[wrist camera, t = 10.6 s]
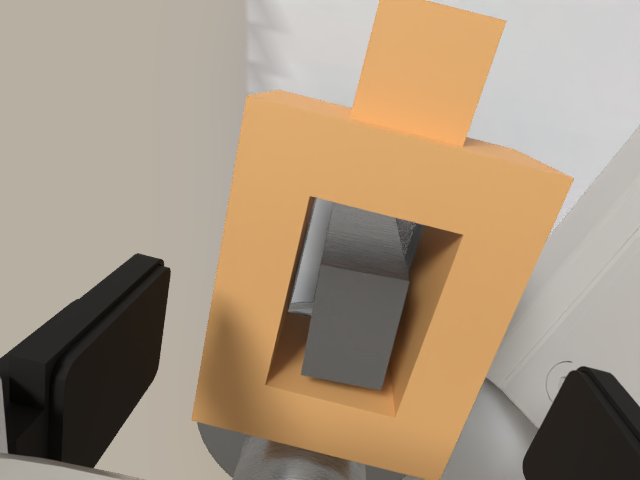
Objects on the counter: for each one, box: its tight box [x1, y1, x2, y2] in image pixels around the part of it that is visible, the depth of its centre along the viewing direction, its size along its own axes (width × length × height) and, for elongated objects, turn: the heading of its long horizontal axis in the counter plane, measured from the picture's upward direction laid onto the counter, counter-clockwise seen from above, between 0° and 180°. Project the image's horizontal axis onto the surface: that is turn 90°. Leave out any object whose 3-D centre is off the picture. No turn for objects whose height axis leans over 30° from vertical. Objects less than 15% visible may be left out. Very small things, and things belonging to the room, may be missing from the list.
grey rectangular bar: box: [301, 202, 410, 390], centre depth 18 cm, size 4×2×11 cm, turn 171°
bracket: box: [192, 0, 574, 480], centre depth 14 cm, size 13×8×4 cm, turn 167°
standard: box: [197, 197, 425, 480], centre depth 18 cm, size 18×10×14 cm, turn 167°
